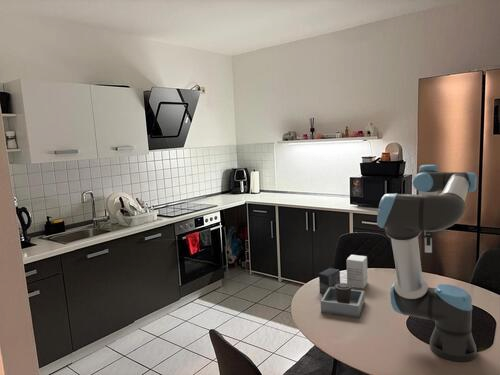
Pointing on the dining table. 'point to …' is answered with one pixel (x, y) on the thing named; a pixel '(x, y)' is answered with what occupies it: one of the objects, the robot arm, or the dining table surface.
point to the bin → (344, 309)
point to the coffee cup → (343, 292)
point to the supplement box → (357, 271)
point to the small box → (328, 279)
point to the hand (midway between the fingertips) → (428, 247)
